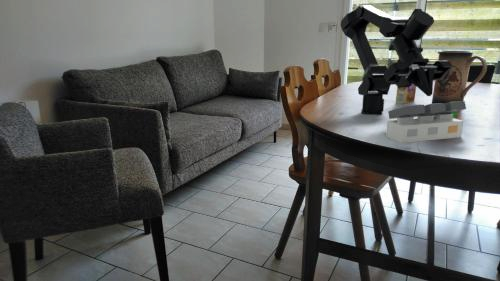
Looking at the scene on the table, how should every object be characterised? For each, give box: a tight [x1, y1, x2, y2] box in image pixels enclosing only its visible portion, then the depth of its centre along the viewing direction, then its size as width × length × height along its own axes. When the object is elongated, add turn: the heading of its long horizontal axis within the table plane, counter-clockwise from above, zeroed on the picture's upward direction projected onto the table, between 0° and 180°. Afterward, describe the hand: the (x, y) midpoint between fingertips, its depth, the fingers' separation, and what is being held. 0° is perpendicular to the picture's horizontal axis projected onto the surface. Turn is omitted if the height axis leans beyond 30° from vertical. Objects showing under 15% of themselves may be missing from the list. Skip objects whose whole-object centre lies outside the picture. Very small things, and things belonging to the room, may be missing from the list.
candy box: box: [395, 84, 417, 105], centre depth 144 cm, size 9×4×15 cm, turn 134°
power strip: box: [385, 113, 464, 144], centre depth 94 cm, size 6×18×6 cm, turn 105°
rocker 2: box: [412, 102, 446, 118], centre depth 93 cm, size 8×4×2 cm, turn 14°
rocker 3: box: [431, 100, 467, 117], centre depth 94 cm, size 8×4×2 cm, turn 14°
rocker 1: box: [388, 103, 425, 120], centre depth 91 cm, size 8×4×2 cm, turn 14°
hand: (430, 95), depth 99 cm, fingers closed
